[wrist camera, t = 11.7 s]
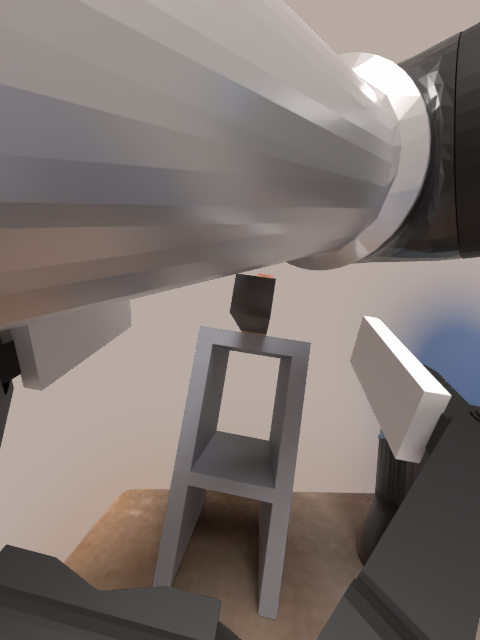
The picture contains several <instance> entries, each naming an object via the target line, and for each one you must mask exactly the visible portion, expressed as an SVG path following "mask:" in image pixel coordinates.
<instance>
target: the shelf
mask: <svg viewBox="0 0 480 640" xmlns="http://www.w3.org/2000/svg"><path fill="white" fill-rule="evenodd" d="M310 344H311V343H308V342H301V341H295V340H288V339H282V338H276V337H269V336H263V335H256V334H250V333H243V332H236V331H230V330H223V329H217V328H210V327H204V326H200V329H199V334H198V340H197V345H196V351H195V356H194V362H193V367H192V372H191V378H190V384H189V389H188V394H187V400H186V405H185V411H184V416H183V422H182V427H181V433H180V438H179V443H178V449H177V455H176V460H175V466H174V471H173V477H172V482H171V487H170V493H169V498H168V503H167V509H166V514H165V520H164V525H163V531H162V536H161V542H160V547H159V553H158V558H157V564H156V569H155V574H154V580H153V585H152V587H157V586H168V587H171V586H172V584H173V581H174V579H175V576H176V574H177V571H178V569H179V566H180V564H181V561H182V559H183V556H184V553H185V551H186V548H187V546H188V543H189V541H190V538H191V536H192V533H193V531H194V528H195V526H196V523H197V521H198V518H199V516H200V513H201V510H202V508H203V505H204V502H205V496H206V490H207V489H208V490H213V491H217V492H222V493H227V494H231V495H236V496H241V497H245V498H250V499H255V500H260V501H261V504H260V511H259V561H258V615H259V616H263V617H267V618H271V619H275V620H277V612H278V604H279V596H280V588H281V580H282V571H283V563H284V555H285V547H286V539H287V531H288V523H289V515H290V507H291V499H292V490H293V482H294V473H295V466H296V457H297V450H298V442H299V434H300V425H301V418H302V409H303V401H304V393H305V385H306V377H307V369H308V361H309V353H310ZM230 350H232V351H238V352H245V353H251V354H257V355H263V356H269V357H276V358H281V359H280V366H279V374H278V381H277V388H276V396H275V403H274V410H273V417H272V425H271V432H270V439H269V441H267V440H262V439H257V438H251V437H246V436H241V435H236V434H231V433H225V432H220V431H216V429H217V423H218V417H219V411H220V405H221V398H222V393H223V387H224V381H225V374H226V369H227V363H228V356H229V351H230Z"/></svg>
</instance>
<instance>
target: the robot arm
mask: <svg viewBox="0 0 480 640" xmlns="http://www.w3.org/2000/svg"><path fill="white" fill-rule="evenodd" d="M473 257H480V22H479V23H478V24H476V25H474V26H472V27H470V28H469V29H467V30H465V31H463V32H459V33H457V34H456V35H454V36H452V37H450V38H448V39H446V40H444V41H442V42H440V43H438V44H437V45H435V46H433V47H431V48H429V49H427V50H425V51H423V52H422V53H420V54H418V55H416V56H414V57H412V58H410V59H407V60H405V61H403V62H401V63H398V64H396V65H395V64H394V63H393V62H391V61H389V60H387V59H385V58H382V57H380V56H378V55H373V54H368V53H362V52H357V53H345V54H339V55H337V54H336V53H335V52H334V51H333V50H332V49H331V48H330V47H329V46H328V45H327V44H326V43H325V42H324V41H323V40H322V39H321V38H320V37H319V36H318V35H317V34H315V32H314V31H312V29H311V28H309V26H307V25H306V24H305V23H304V22H303V21H302V20H301V19H300V18H299V17H298V16H297V15H296V14H295V13H294V12H293V11H292V10H291V9H290V8H289V7H288V6H287V5H286V4H285V3H284V2H283V1H282V0H0V446H1V442H2V438H3V433H4V429H5V424H6V420H7V415H8V411H9V407H10V402H11V398H12V394H13V389H14V388H13V383H12V379H13V378H15V377H16V376H18V375H20V374H21V377H22V381H23V385H24V387H26V388H30V389H36V390H41V391H42V390H43V389H45V388H46V387H48V386H49V385H50V384H52V383H53V382H54V381H56V380H57V379H59V378H60V377H61V376H63V375H64V374H66V373H67V372H68V371H70V370H71V369H73V368H74V367H75V366H77V365H78V364H79V363H81V362H82V361H84V360H85V359H87V358H88V357H89V356H91V355H92V354H93V353H95V352H96V351H97V350H99V349H100V348H102V347H103V346H105V345H106V344H107V343H109V342H110V341H112V340H113V339H114V338H116V337H117V336H119V335H120V334H121V333H123V332H124V331H126V330H127V329H128V328H130V327H131V310H130V299H134V298H139V297H143V296H146V295H150V294H155V293H159V292H163V291H167V290H171V289H175V288H180V287H184V286H188V285H192V284H196V283H200V282H204V281H208V280H213V279H217V278H220V277H224V276H229V275H233V274H237V273H241V272H245V271H250V270H254V269H258V268H262V267H266V266H270V265H274V264H278V263H282V262H287V263H289V264H291V265H294V266H296V267H299V268H304V269H309V270H329V269H335V268H340V267H343V266H346V265H349V264H352V263H368V262H404V261H405V262H407V261H436V260H437V261H438V260H448V259H459V258H463V259H464V258H473ZM350 362H351V364H352V366H353V369H354V371H355V373H356V375H357V377H358V379H359V382H360V384H361V386H362V388H363V390H364V392H365V394H366V396H367V399H368V401H369V403H370V405H371V407H372V409H373V412H374V414H375V416H376V418H377V420H378V422H379V425H380V427H381V429H380V434H379V436H378V438H379V448H378V462H377V474H376V488H375V498H374V502H373V504H372V506H371V508H370V510H369V513H368V515H367V517H366V519H365V521H364V523H363V525H362V527H361V530H360V533H359V541H358V553H359V556H360V558H361V560H362V562H363V563H364V565H365V566H364V568H363V569H362V571H361V572H360V574H359V576H358V577H357V578H356V579H354V580H353V582H352V583H351V584H350V586H349V588H348V589H347V591H346V592H345V594H344V595H343V597H342V599H341V600H340V602H339V604H338V605H337V607H336V609H335V610H334V612H333V614H332V615H331V617H330V619H329V620H328V622H327V624H326V625H325V627H324V628H323V630H322V632H321V633H320V635H319V637H318V638H317V640H475V637H476V632H477V627H478V622H479V617H480V407H478V406H474V405H469V404H468V403H467V402H466V401H465V400H464V399H463V398H462V397H461V396H460V395H459V394H458V393H457V392H456V391H455V390H454V389H452V387H451V386H450V385H449V384H448V383H447V382H445V380H444V379H443V378H442V376H441V375H439V373H437V372H436V371H434V370H433V369H431V368H429V367H428V366H426V365H422V364H421V363H420V362H419V361H418V360H417V359H416V358H415V356H414V355H413V354H412V353H411V352H410V351H409V350H408V349H407V348H406V347H405V346H404V345H403V344H402V343H401V342H400V341H399V339H397V337H396V336H395V335H394V334H393V333H392V332H391V331H390V330H389V329H388V328H387V327H386V326H385V325H384V324H383V323H382V321H381V320H380V319H379V318H374V317H367V316H363V319H362V322H361V326H360V329H359V332H358V336H357V339H356V343H355V346H354V350H353V353H352V356H351V360H350ZM220 605H221V600H218V599H214V598H210V597H206V596H202V595H198V594H195V593H191V592H187V591H183V590H179V589H175V588H171V587H168V586H157V587H145V588H134V589H122V590H110V591H101V590H98V589H96V588H94V587H93V586H92V585H90V584H89V583H88V582H86V581H85V580H84V579H83V578H81V577H80V576H79V575H78V574H76V573H75V572H74V571H72V570H71V569H70V568H69V567H67V566H66V565H65V564H64V563H62V562H61V561H60V560H58V559H57V558H56V557H52V556H49V555H45V554H41V553H37V552H33V551H29V550H26V549H22V548H18V547H14V546H10V545H6V546H5V547H4V548H3V549H2V550H1V551H0V640H241V639H240V638H239V637H238V636H236V635H235V634H234V633H233V632H232V631H231V630H230V629H229V628H227V627H226V626H225V625H223V624H222V623H221V622H219V621H218V619H219V612H220Z"/></svg>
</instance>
